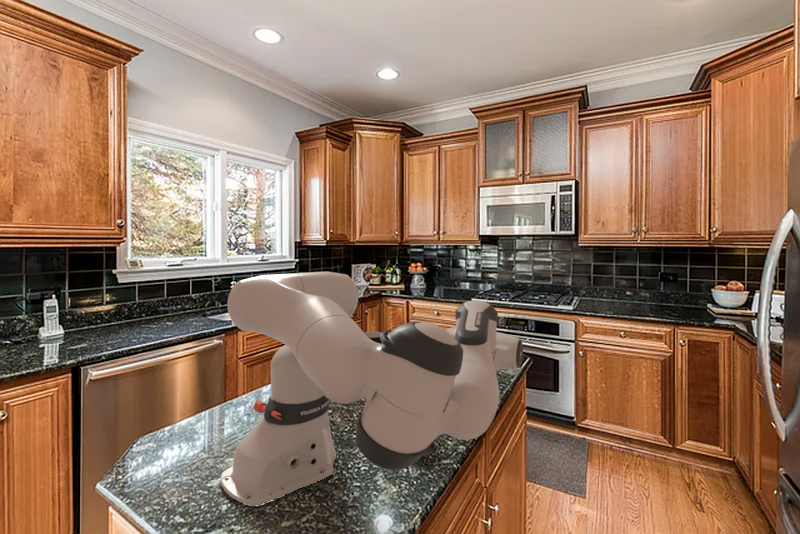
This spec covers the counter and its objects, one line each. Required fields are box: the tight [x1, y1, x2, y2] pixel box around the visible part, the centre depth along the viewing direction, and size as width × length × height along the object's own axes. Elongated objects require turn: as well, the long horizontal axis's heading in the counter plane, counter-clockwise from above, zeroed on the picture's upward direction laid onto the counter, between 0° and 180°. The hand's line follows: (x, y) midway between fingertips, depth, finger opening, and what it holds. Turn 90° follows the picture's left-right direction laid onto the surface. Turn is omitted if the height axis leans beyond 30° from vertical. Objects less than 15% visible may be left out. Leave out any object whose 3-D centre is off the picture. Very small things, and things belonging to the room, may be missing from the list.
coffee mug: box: [364, 331, 383, 344], centre depth 144 cm, size 12×9×10 cm
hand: (423, 335), depth 113 cm, fingers closed on soda can, 5 cm apart
